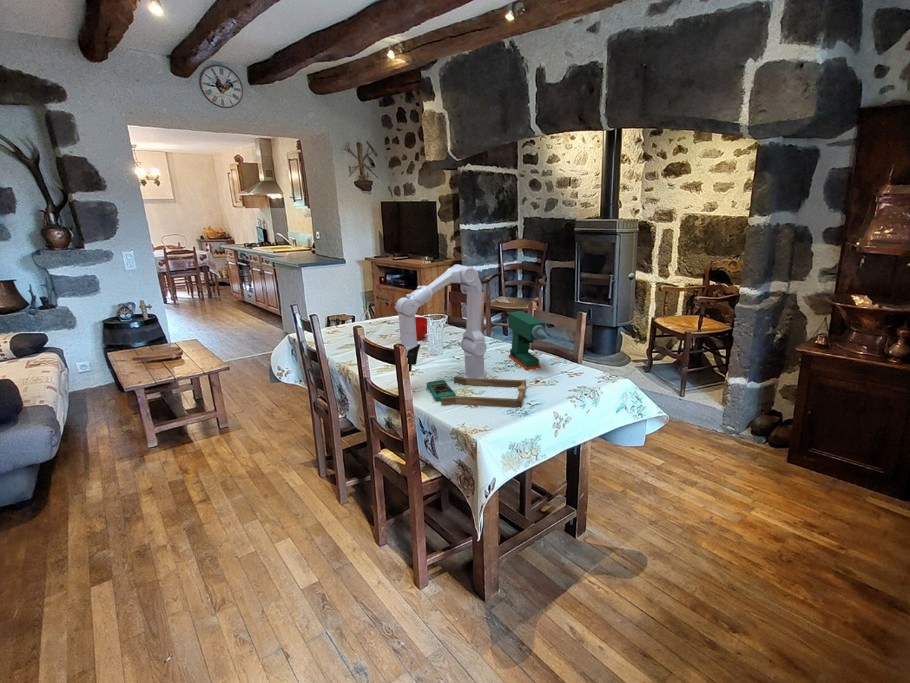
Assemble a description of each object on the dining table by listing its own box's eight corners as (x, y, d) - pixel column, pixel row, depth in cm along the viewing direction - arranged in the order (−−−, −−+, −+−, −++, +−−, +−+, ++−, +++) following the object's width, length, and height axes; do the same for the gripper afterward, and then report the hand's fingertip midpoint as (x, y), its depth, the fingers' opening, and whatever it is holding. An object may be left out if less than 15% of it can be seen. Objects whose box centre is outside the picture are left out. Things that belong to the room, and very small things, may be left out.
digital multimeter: (436, 403, 171) (436, 395, 170) (426, 388, 185) (425, 381, 184) (456, 400, 173) (456, 392, 172) (445, 385, 187) (444, 378, 186)
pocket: (454, 382, 189) (454, 373, 188) (527, 385, 182) (527, 376, 182) (440, 405, 168) (439, 396, 167) (522, 409, 162) (522, 400, 161)
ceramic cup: (418, 345, 237) (417, 325, 234) (397, 339, 249) (396, 320, 246) (438, 339, 245) (437, 320, 242) (417, 334, 257) (416, 315, 254)
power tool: (557, 379, 187) (558, 328, 181) (540, 381, 185) (541, 330, 179) (523, 355, 216) (523, 310, 211) (508, 357, 214) (507, 312, 209)
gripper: (402, 326, 182) (405, 361, 186) (391, 337, 168) (394, 374, 172) (421, 326, 181) (423, 361, 184) (411, 337, 167) (414, 375, 171)
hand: (410, 367), depth 178 cm, fingers open, 7 cm apart
